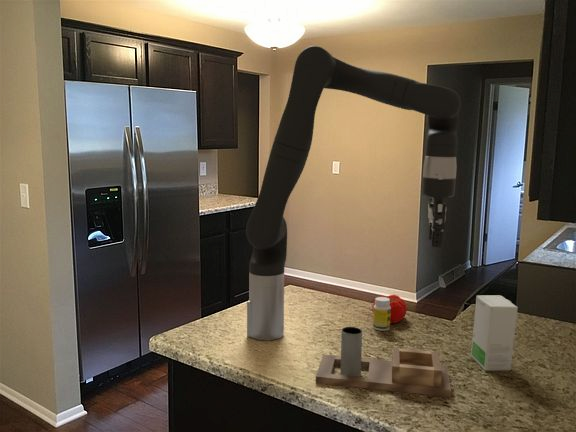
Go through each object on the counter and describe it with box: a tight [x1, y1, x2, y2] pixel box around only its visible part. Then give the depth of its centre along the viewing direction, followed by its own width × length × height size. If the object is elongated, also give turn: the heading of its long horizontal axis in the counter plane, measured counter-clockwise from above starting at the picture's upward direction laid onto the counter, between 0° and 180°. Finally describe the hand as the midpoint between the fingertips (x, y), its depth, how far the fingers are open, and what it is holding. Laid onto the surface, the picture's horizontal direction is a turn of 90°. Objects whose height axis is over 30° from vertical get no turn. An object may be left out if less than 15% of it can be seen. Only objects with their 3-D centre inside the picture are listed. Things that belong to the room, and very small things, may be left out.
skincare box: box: [470, 294, 519, 372], centre depth 123 cm, size 8×7×16 cm
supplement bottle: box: [372, 296, 391, 332], centre depth 146 cm, size 5×5×8 cm
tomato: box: [371, 294, 408, 324], centre depth 153 cm, size 10×11×6 cm
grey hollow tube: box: [340, 326, 363, 377], centre depth 117 cm, size 4×4×10 cm
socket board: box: [315, 347, 452, 398], centre depth 116 cm, size 28×12×5 cm, turn 79°
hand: (434, 243), depth 127 cm, fingers open, 8 cm apart
